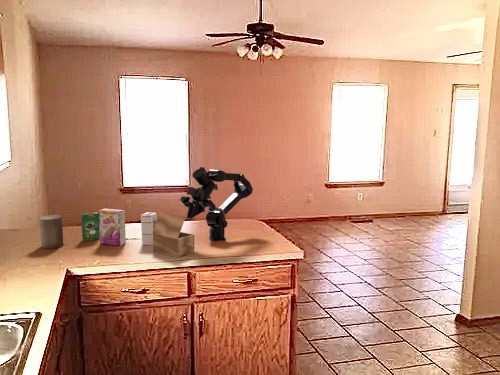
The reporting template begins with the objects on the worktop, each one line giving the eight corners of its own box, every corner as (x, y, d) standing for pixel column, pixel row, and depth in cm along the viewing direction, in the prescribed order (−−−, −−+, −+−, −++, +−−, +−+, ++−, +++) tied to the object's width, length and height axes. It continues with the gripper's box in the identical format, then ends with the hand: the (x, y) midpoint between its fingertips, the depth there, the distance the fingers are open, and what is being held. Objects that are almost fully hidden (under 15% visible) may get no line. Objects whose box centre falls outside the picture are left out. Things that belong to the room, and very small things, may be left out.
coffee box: (98, 237, 243) (97, 211, 241) (100, 238, 241) (99, 212, 239) (82, 240, 238) (80, 213, 236) (84, 241, 236) (83, 214, 234)
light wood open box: (170, 246, 228) (169, 229, 227) (194, 252, 218) (194, 234, 217) (153, 250, 220) (152, 233, 219) (177, 257, 210) (177, 239, 209)
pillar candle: (68, 244, 231) (66, 213, 229) (51, 249, 222) (49, 216, 220) (52, 242, 235) (50, 211, 233) (36, 247, 226) (34, 215, 224)
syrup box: (153, 245, 230) (152, 214, 228) (141, 244, 231) (140, 214, 229) (158, 242, 235) (157, 212, 233) (146, 241, 237) (145, 211, 234)
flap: (161, 212, 222) (160, 212, 222) (185, 217, 212) (185, 217, 212) (152, 233, 219) (152, 233, 219) (177, 239, 209) (176, 239, 209)
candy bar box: (99, 244, 231) (98, 210, 229) (106, 241, 236) (104, 208, 233) (120, 246, 228) (118, 211, 225) (126, 243, 232) (125, 209, 230)
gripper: (182, 179, 232) (165, 205, 225) (211, 182, 220) (193, 210, 213) (194, 193, 239) (178, 219, 232) (223, 197, 227) (206, 225, 221)
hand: (188, 218), depth 224 cm, fingers closed
